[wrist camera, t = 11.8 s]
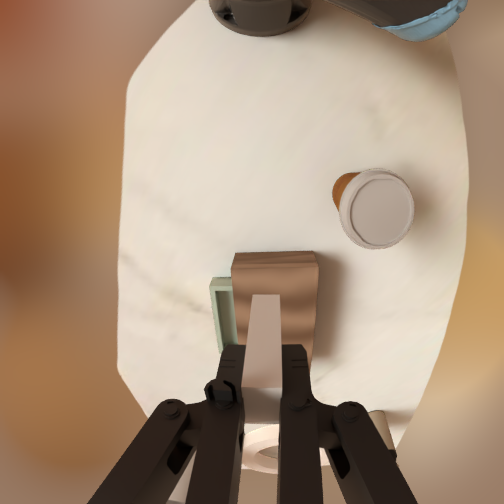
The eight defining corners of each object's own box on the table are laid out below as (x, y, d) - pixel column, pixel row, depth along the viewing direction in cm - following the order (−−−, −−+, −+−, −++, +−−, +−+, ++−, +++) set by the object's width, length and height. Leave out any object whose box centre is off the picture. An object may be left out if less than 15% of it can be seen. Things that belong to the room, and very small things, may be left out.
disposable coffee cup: (390, 181, 38) (430, 196, 26) (362, 233, 41) (392, 265, 30) (338, 150, 37) (366, 153, 25) (310, 207, 40) (326, 231, 29)
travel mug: (352, 427, 61) (363, 480, 44) (361, 411, 58) (375, 468, 41) (378, 424, 60) (391, 474, 44) (388, 408, 57) (405, 461, 41)
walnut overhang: (235, 252, 43) (230, 269, 38) (312, 250, 43) (318, 266, 37) (244, 357, 51) (242, 379, 46) (306, 356, 51) (309, 378, 45)
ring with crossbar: (284, 468, 73) (284, 479, 68) (220, 443, 67) (218, 456, 62) (352, 439, 64) (355, 451, 60) (292, 410, 58) (293, 425, 54)
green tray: (212, 277, 45) (209, 286, 42) (286, 276, 44) (287, 285, 42) (221, 342, 50) (219, 353, 48) (285, 342, 50) (286, 353, 47)
